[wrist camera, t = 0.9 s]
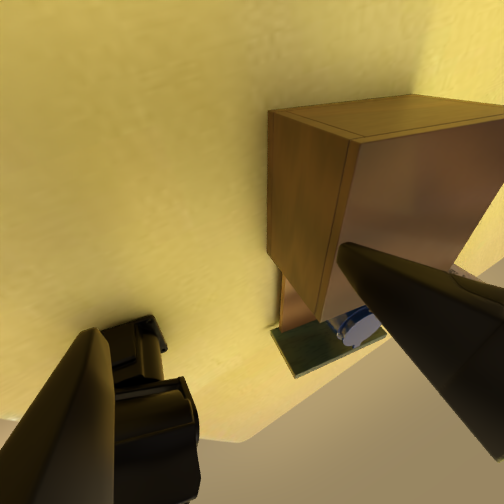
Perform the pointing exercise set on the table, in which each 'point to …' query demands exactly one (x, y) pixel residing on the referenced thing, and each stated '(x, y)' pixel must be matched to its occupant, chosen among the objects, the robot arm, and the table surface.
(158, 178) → the table surface
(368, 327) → the blue lidded mug
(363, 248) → the robot arm
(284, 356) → the drawer
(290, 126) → the cabinet
